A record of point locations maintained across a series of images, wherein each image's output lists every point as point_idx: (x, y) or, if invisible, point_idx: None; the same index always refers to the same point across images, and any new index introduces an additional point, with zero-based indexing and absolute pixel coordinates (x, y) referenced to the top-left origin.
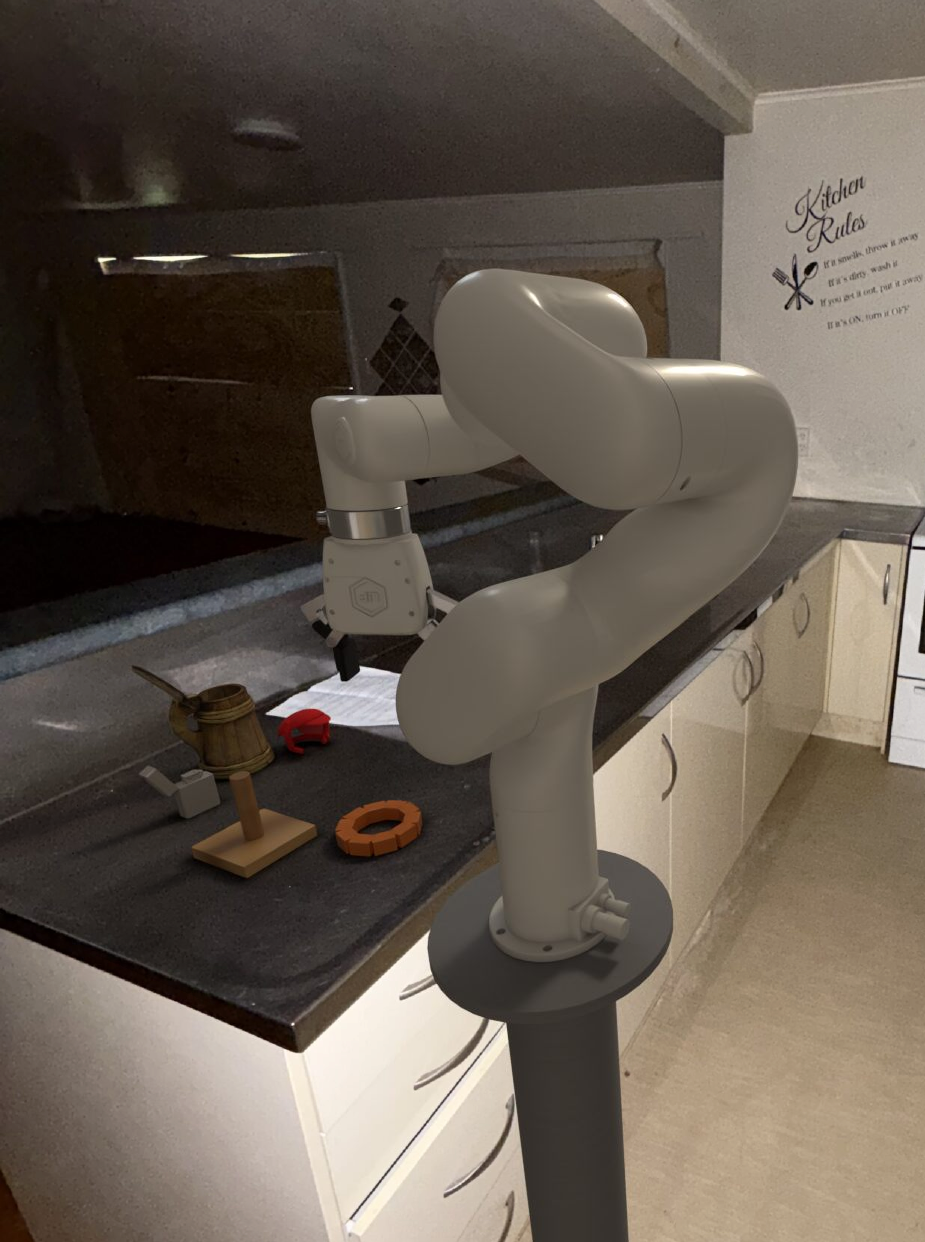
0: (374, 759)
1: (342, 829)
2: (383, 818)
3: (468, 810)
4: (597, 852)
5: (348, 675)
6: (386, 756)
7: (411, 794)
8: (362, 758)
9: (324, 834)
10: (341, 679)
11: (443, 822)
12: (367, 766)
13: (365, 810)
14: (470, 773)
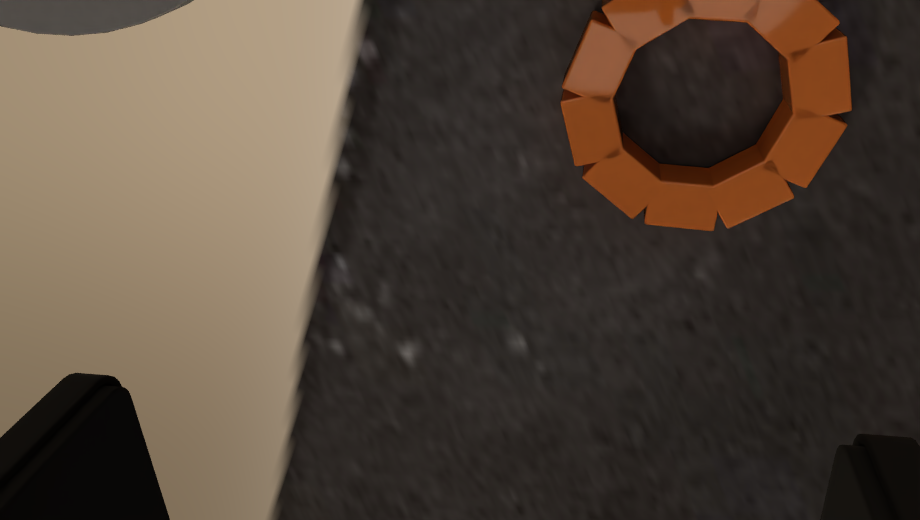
0: None
1: (819, 44)
2: (714, 166)
3: (462, 221)
4: (8, 13)
5: (847, 491)
6: None
7: (675, 306)
8: None
9: (902, 79)
10: (908, 445)
11: (513, 157)
12: None
13: (774, 167)
14: (533, 406)
